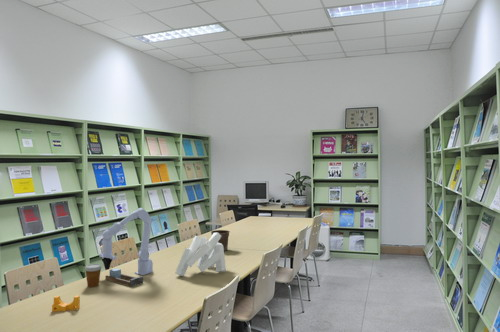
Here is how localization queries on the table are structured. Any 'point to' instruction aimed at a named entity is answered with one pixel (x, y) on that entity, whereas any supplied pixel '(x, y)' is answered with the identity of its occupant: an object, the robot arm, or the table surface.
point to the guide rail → (131, 283)
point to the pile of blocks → (203, 254)
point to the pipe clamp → (65, 304)
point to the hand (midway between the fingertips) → (107, 269)
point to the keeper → (115, 273)
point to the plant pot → (223, 237)
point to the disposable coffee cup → (93, 274)
